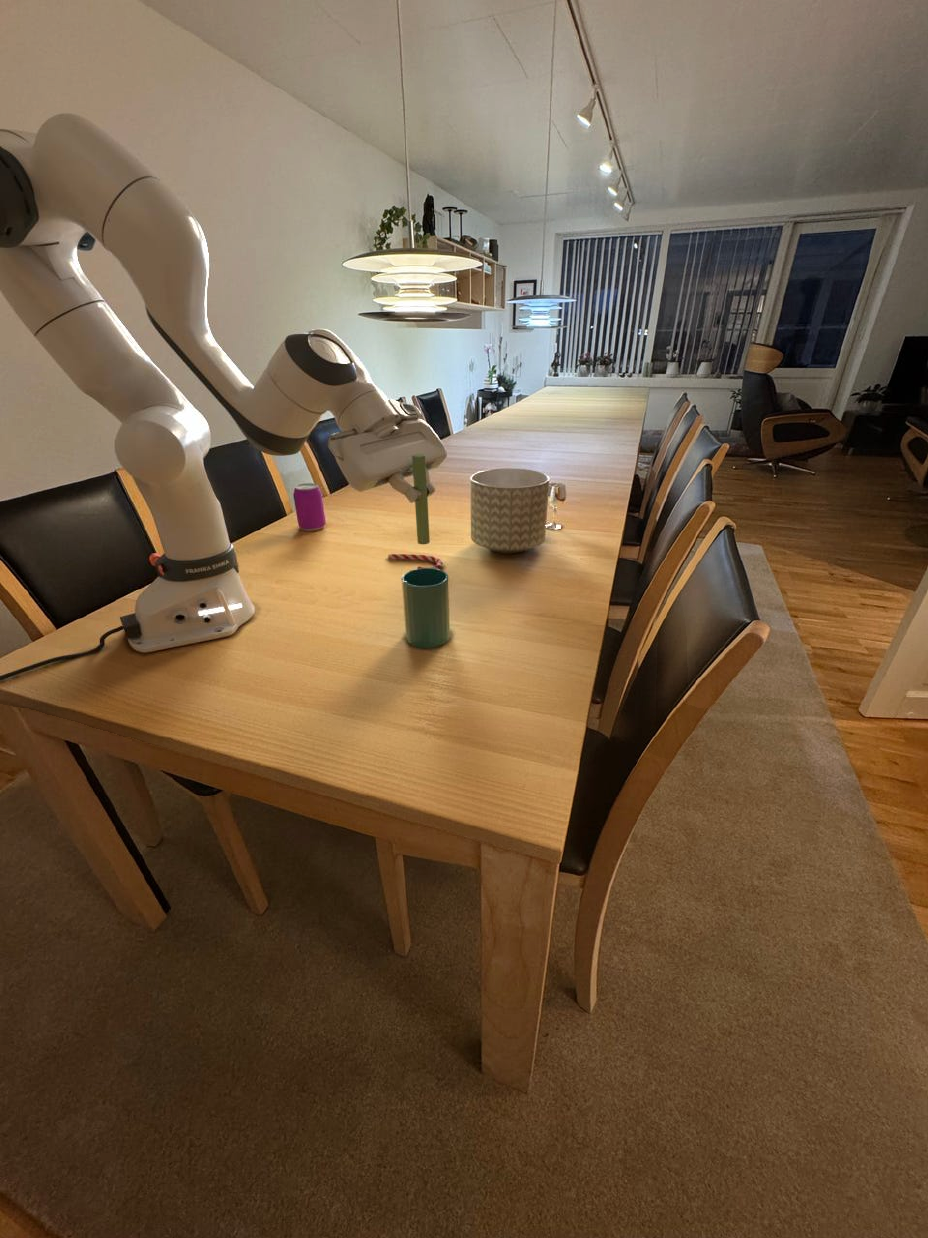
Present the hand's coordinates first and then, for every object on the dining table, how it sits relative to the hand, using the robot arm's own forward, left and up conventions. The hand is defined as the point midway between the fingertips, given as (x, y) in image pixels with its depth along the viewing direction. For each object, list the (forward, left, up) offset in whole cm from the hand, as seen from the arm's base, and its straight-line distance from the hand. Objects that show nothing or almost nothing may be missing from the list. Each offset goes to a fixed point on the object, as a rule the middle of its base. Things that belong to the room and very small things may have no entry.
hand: (423, 496), depth 81 cm
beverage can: (+5, +73, -26) cm, 78 cm away
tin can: (0, +1, -26) cm, 26 cm away
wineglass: (+61, +32, -26) cm, 74 cm away
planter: (+40, +27, -26) cm, 55 cm away
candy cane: (+15, +32, -26) cm, 44 cm away
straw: (0, 0, -8) cm, 8 cm away
